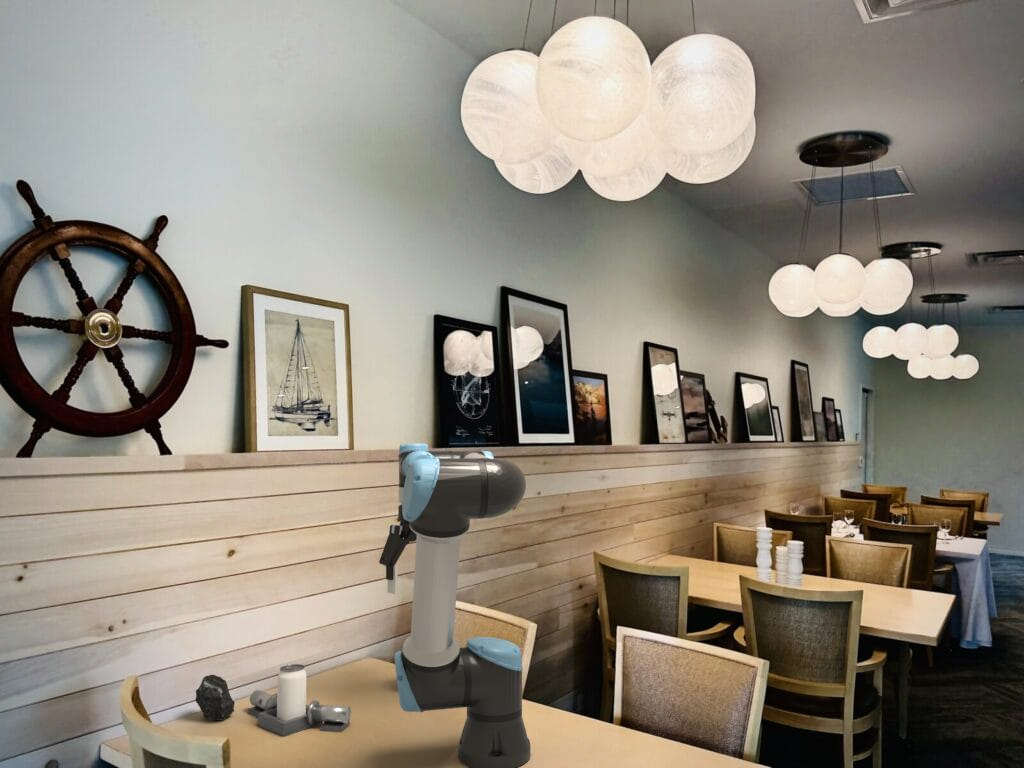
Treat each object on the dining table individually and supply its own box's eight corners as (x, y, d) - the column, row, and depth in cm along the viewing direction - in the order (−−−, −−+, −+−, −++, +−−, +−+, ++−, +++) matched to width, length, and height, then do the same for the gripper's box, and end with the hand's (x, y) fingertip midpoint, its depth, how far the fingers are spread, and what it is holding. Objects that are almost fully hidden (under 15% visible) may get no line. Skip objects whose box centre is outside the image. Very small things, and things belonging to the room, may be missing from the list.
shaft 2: (306, 730, 167) (307, 704, 168) (316, 721, 172) (316, 697, 173) (343, 732, 166) (343, 706, 166) (351, 724, 171) (352, 699, 171)
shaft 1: (286, 715, 176) (286, 691, 177) (266, 721, 172) (267, 697, 173) (265, 707, 182) (266, 684, 182) (246, 713, 178) (247, 689, 178)
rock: (191, 722, 172) (193, 678, 173) (212, 711, 179) (213, 669, 180) (220, 725, 170) (221, 681, 171) (239, 715, 177) (241, 672, 178)
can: (297, 726, 167) (298, 672, 168) (271, 724, 168) (272, 670, 169) (310, 716, 173) (311, 664, 174) (285, 714, 175) (286, 662, 176)
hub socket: (322, 723, 171) (322, 710, 172) (283, 736, 163) (283, 723, 164) (296, 713, 178) (296, 701, 178) (257, 725, 170) (258, 713, 170)
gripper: (437, 500, 199) (436, 580, 197) (365, 506, 180) (364, 594, 178) (457, 501, 195) (457, 583, 193) (386, 507, 175) (385, 598, 173)
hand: (412, 589), depth 185 cm, fingers open, 13 cm apart
